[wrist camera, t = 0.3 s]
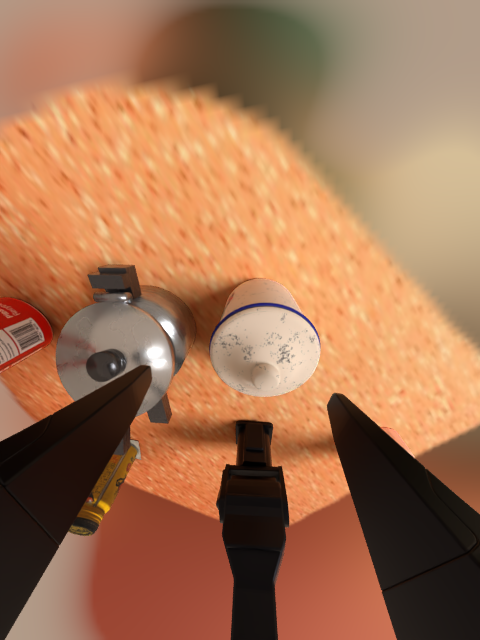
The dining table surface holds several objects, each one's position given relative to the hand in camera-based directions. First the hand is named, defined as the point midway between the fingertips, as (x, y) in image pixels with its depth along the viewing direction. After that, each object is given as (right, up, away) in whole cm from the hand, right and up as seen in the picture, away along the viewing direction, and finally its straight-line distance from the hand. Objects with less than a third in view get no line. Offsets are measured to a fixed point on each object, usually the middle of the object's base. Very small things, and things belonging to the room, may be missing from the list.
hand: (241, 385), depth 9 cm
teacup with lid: (+3, +3, +15) cm, 15 cm away
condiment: (-26, -24, +30) cm, 46 cm away
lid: (-12, -2, +9) cm, 15 cm away
